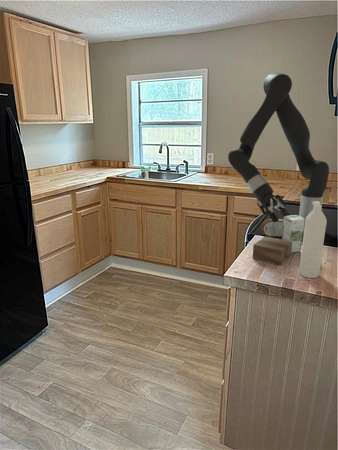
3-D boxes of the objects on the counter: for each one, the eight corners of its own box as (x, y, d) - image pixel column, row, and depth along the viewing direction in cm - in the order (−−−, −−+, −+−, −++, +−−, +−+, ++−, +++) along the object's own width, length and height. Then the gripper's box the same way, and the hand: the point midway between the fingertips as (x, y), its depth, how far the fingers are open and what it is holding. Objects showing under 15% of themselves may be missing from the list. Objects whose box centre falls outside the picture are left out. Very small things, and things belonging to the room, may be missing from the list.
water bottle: (319, 279, 110) (330, 208, 102) (299, 277, 112) (308, 207, 103) (317, 268, 118) (326, 201, 109) (298, 266, 119) (305, 200, 111)
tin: (293, 235, 149) (295, 218, 147) (295, 238, 146) (297, 220, 144) (260, 235, 151) (261, 217, 148) (261, 237, 148) (262, 219, 145)
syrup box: (291, 246, 137) (295, 214, 132) (300, 252, 131) (305, 218, 126) (280, 248, 135) (283, 215, 130) (288, 254, 130) (292, 219, 125)
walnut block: (264, 249, 135) (265, 236, 133) (290, 256, 128) (292, 242, 126) (252, 258, 127) (253, 244, 125) (279, 266, 120) (281, 251, 118)
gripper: (256, 184, 130) (279, 218, 125) (275, 179, 139) (297, 210, 134) (244, 195, 135) (266, 227, 131) (263, 190, 144) (284, 220, 140)
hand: (282, 219), depth 133 cm, fingers open, 8 cm apart
